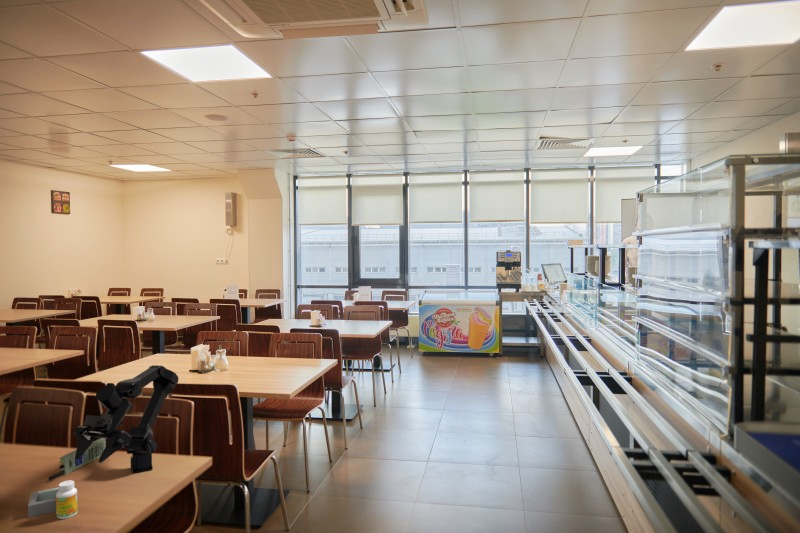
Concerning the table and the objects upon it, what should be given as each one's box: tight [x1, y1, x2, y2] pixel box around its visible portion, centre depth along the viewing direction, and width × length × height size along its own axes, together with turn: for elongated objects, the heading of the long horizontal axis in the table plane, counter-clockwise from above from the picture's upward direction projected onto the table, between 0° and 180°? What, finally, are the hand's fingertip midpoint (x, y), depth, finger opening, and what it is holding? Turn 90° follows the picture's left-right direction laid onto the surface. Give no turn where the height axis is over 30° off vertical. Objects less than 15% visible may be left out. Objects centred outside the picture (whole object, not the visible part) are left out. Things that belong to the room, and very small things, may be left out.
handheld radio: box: [48, 438, 107, 481], centre depth 190 cm, size 7×3×25 cm
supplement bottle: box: [55, 479, 79, 520], centre depth 156 cm, size 5×5×10 cm
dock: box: [27, 486, 59, 518], centre depth 161 cm, size 10×10×4 cm
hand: (87, 460), depth 163 cm, fingers open, 9 cm apart
